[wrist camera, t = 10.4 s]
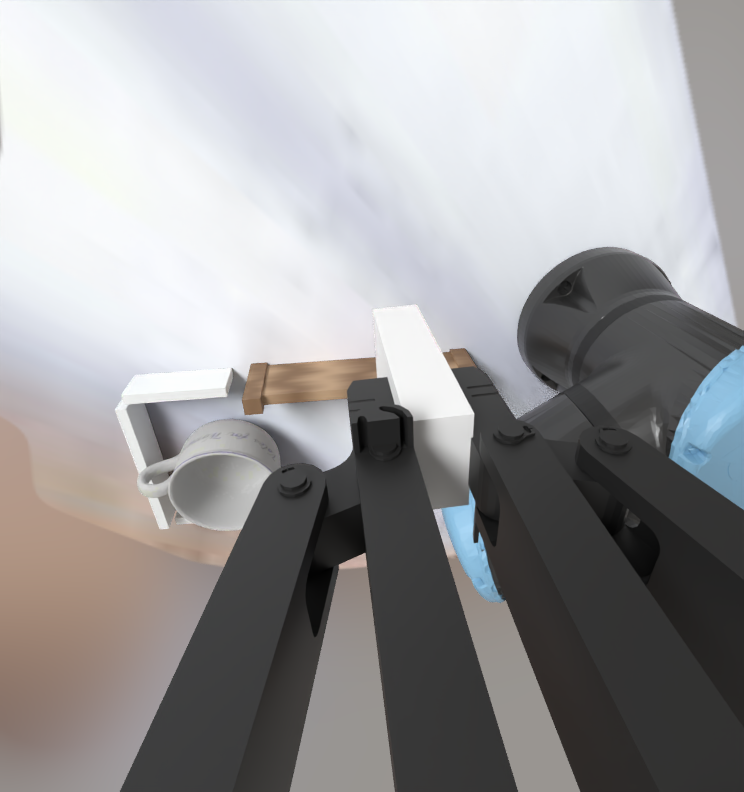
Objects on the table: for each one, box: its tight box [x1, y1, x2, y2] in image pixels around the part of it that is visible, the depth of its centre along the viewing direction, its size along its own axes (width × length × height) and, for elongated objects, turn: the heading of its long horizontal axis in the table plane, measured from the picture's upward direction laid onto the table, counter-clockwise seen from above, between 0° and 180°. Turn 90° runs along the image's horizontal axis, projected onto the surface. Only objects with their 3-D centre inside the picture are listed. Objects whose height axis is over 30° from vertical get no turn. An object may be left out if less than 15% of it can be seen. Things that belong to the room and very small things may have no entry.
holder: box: [115, 368, 233, 529], centre depth 50 cm, size 10×19×4 cm, turn 2°
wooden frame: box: [242, 348, 477, 415], centre depth 50 cm, size 22×20×7 cm
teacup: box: [137, 419, 281, 531], centre depth 49 cm, size 14×11×8 cm
